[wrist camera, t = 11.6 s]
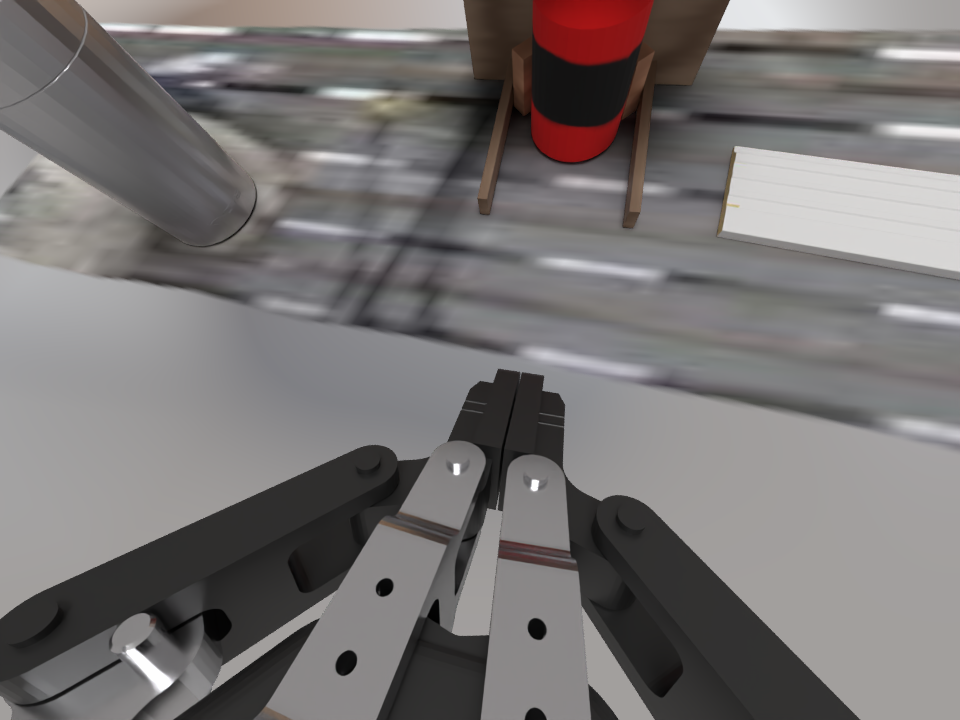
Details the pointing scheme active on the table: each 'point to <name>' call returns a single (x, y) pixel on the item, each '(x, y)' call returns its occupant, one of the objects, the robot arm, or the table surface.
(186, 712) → the robot arm
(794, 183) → the baseboard
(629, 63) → the soda can
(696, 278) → the table surface
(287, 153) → the table surface
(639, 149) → the overhang shelf
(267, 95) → the table surface
